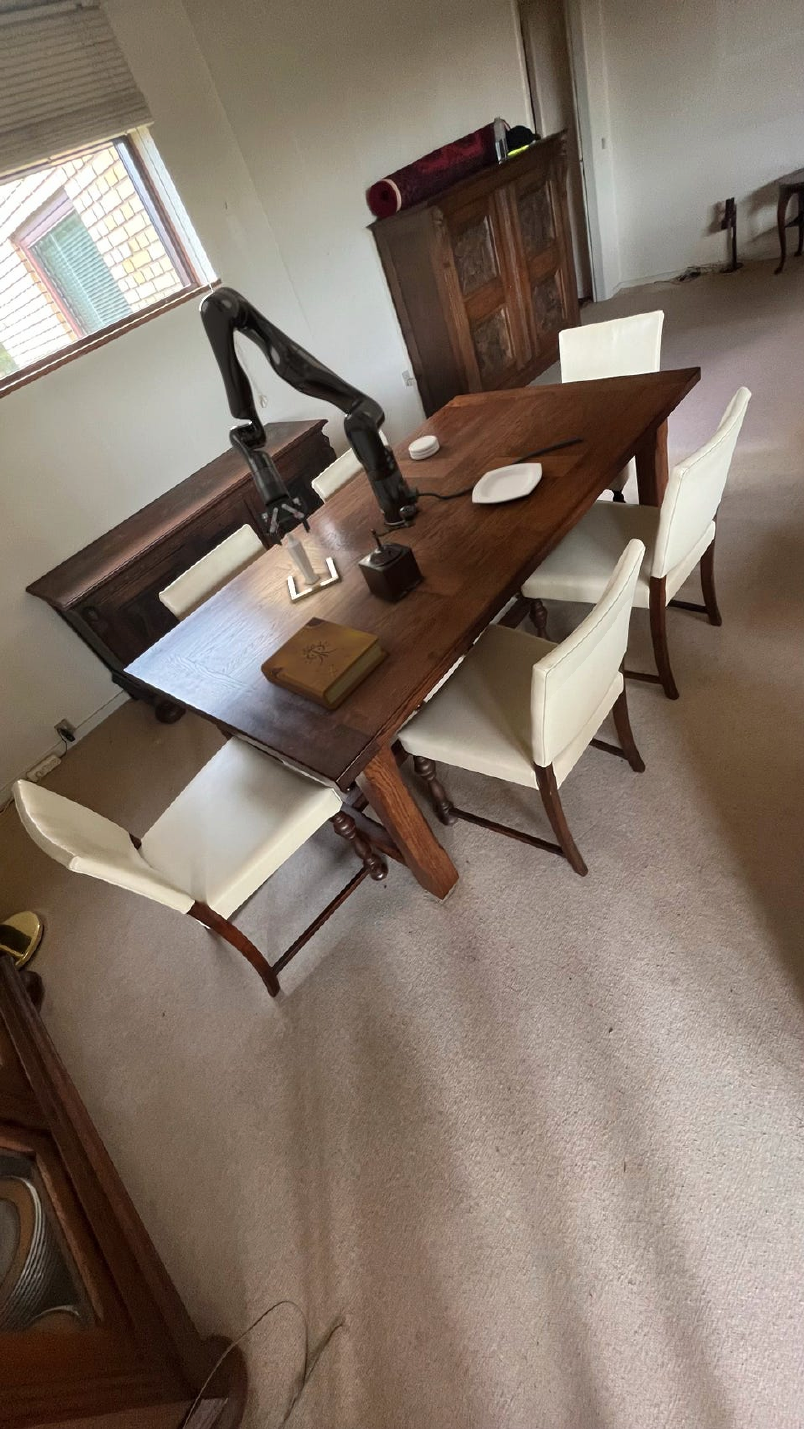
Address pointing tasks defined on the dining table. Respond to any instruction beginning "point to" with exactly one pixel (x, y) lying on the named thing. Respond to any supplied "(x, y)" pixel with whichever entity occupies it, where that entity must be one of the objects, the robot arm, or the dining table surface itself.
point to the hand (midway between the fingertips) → (294, 538)
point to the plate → (507, 483)
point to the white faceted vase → (300, 558)
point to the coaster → (424, 447)
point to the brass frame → (316, 588)
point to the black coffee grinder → (392, 564)
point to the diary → (323, 662)
